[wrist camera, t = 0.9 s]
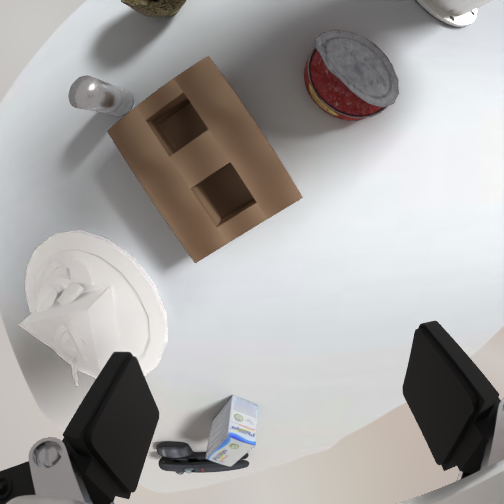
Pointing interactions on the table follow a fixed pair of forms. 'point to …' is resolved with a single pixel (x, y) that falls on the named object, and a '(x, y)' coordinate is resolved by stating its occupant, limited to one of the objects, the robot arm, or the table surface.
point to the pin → (100, 96)
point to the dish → (93, 303)
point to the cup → (155, 7)
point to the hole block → (203, 160)
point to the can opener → (190, 460)
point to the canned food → (350, 76)
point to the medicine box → (232, 432)
